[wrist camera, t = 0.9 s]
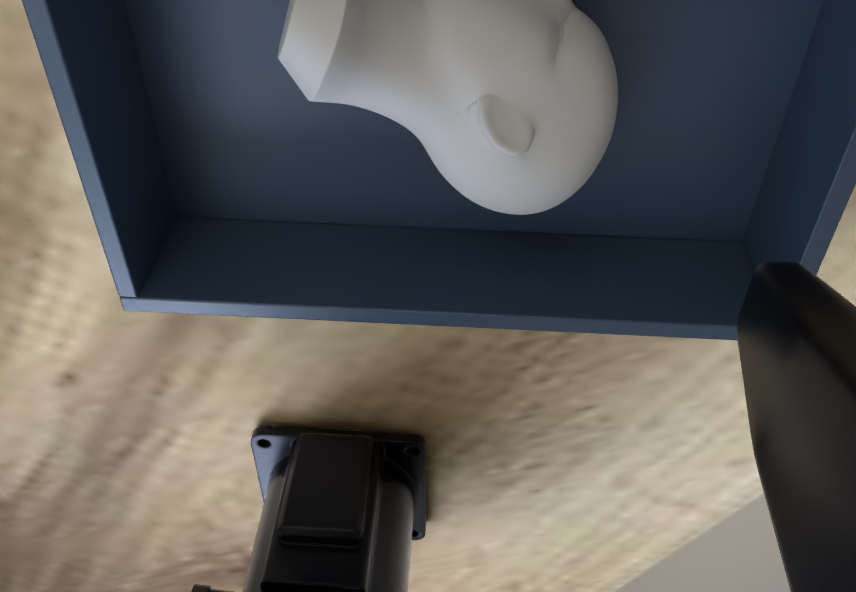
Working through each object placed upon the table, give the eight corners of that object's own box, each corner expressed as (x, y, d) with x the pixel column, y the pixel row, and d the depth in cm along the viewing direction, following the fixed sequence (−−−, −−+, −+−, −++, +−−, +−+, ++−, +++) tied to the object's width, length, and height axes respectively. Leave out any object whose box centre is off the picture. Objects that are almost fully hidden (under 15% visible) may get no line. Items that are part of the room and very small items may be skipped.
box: (750, 244, 24) (787, 343, 21) (168, 219, 24) (123, 311, 21) (946, -318, 15) (1058, -285, 12) (28, -334, 16) (-81, -308, 13)
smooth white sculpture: (634, 39, 20) (513, 204, 22) (361, -170, 17) (245, 39, 19) (710, 80, 17) (557, 276, 18) (378, -177, 14) (231, 83, 15)
